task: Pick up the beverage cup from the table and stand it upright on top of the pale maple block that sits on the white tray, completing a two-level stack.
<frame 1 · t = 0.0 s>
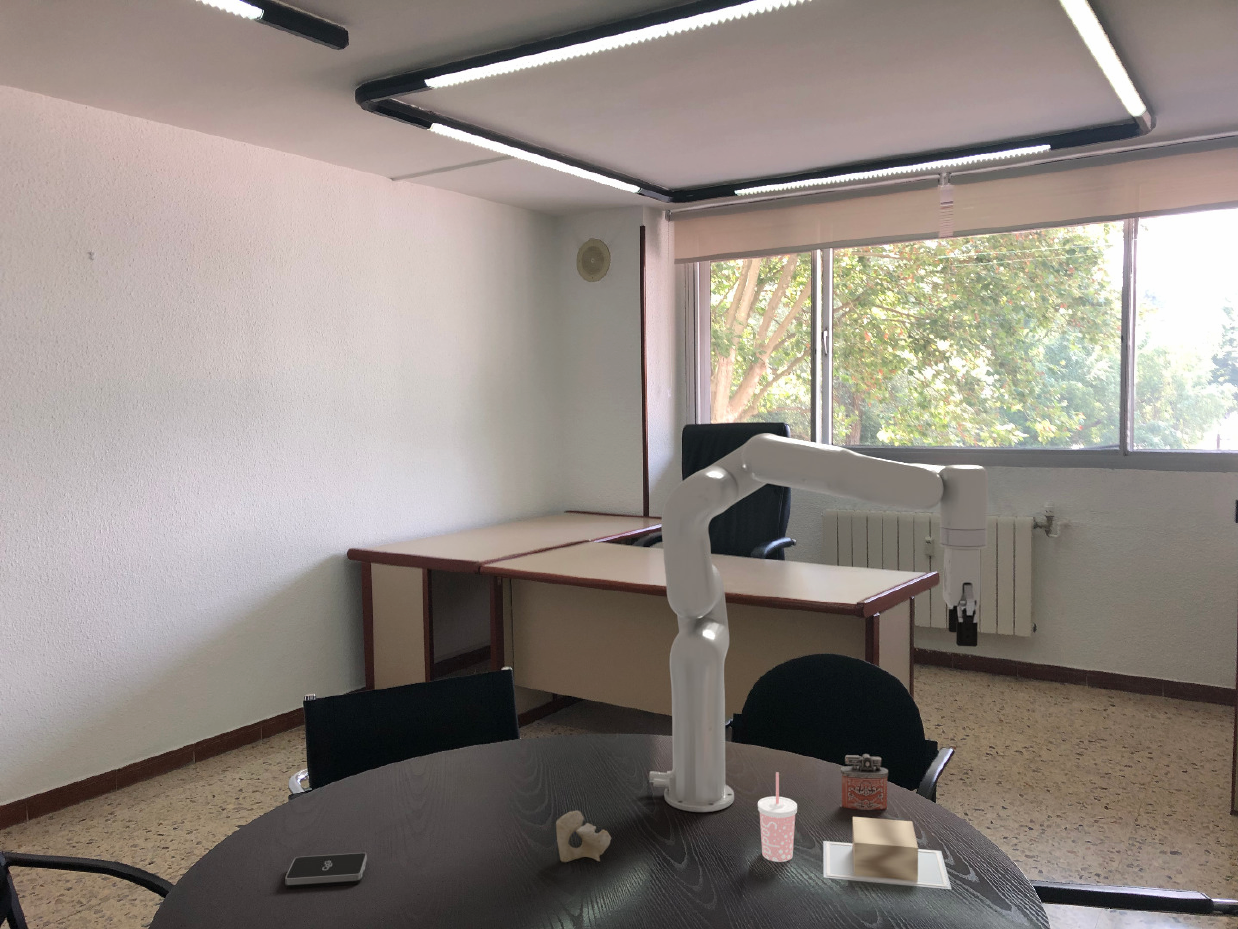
hand: (962, 638, 158), 31 cm above the table, tool pointing down, fingers open, 9 cm apart
white tray: (883, 870, 142), on the table
bone: (584, 857, 148), on the table
maple block: (883, 863, 142), point 1 cm above the table, touching white tray
beverage cup: (777, 862, 145), on the table
external hard drive: (326, 879, 142), on the table
lighter: (864, 812, 163), on the table
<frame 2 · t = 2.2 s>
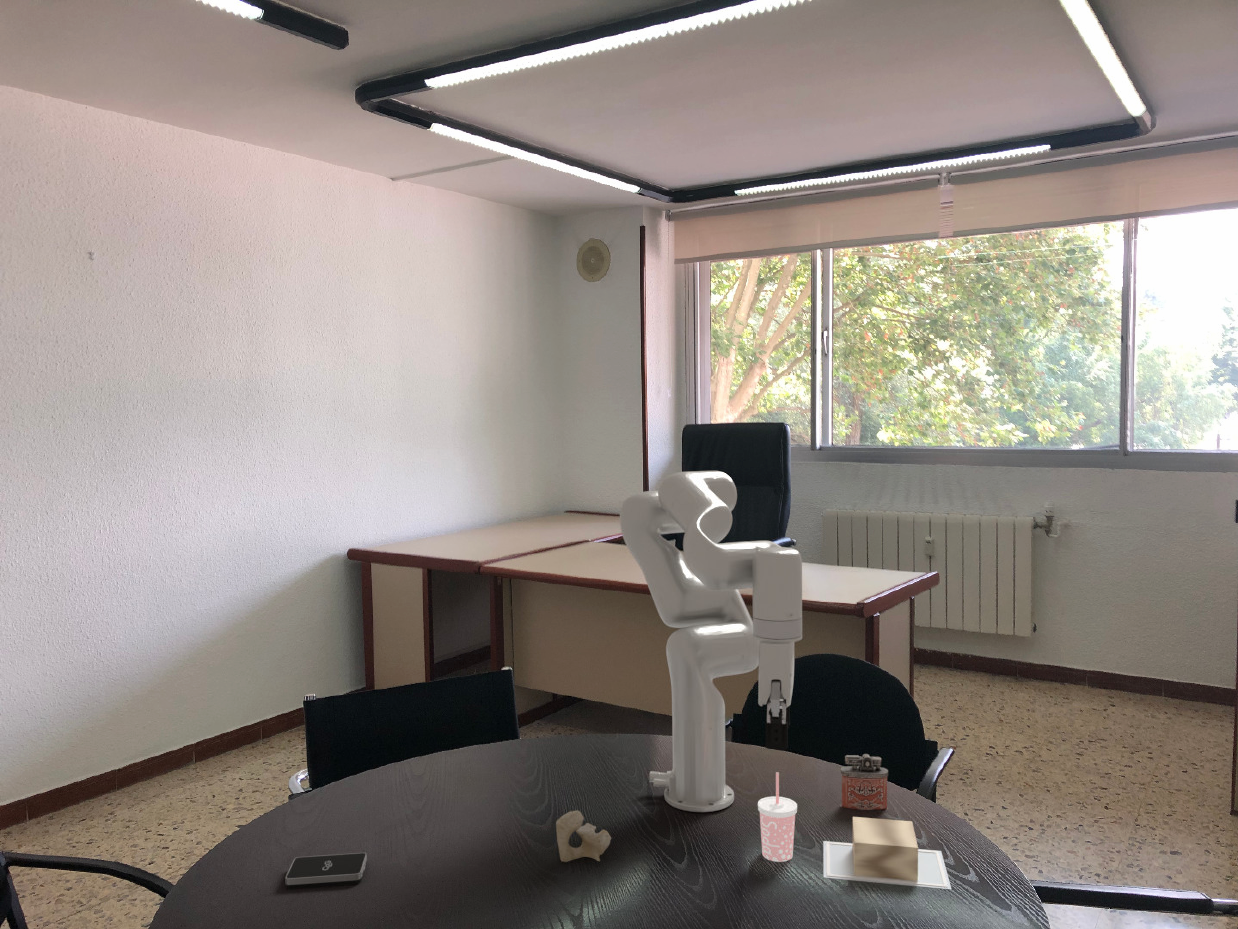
hand: (778, 737, 144), 20 cm above the table, tool pointing down, fingers open, 9 cm apart
nothing on the table moved.
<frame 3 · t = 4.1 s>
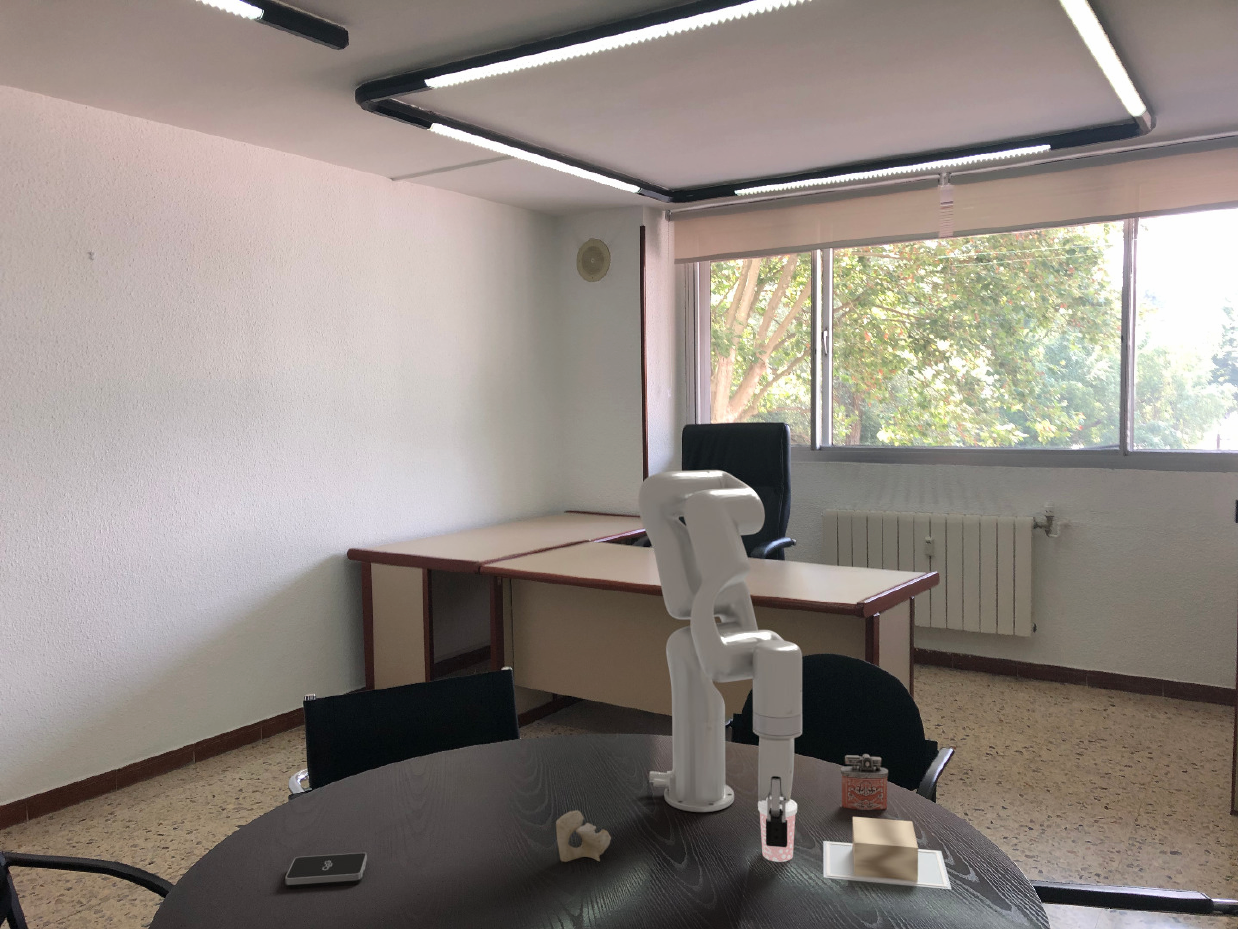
hand: (777, 835, 145), 4 cm above the table, tool pointing down, fingers closed on beverage cup, 6 cm apart
beverage cup: (777, 862, 145), on the table, touching gripper
everything else where it was.
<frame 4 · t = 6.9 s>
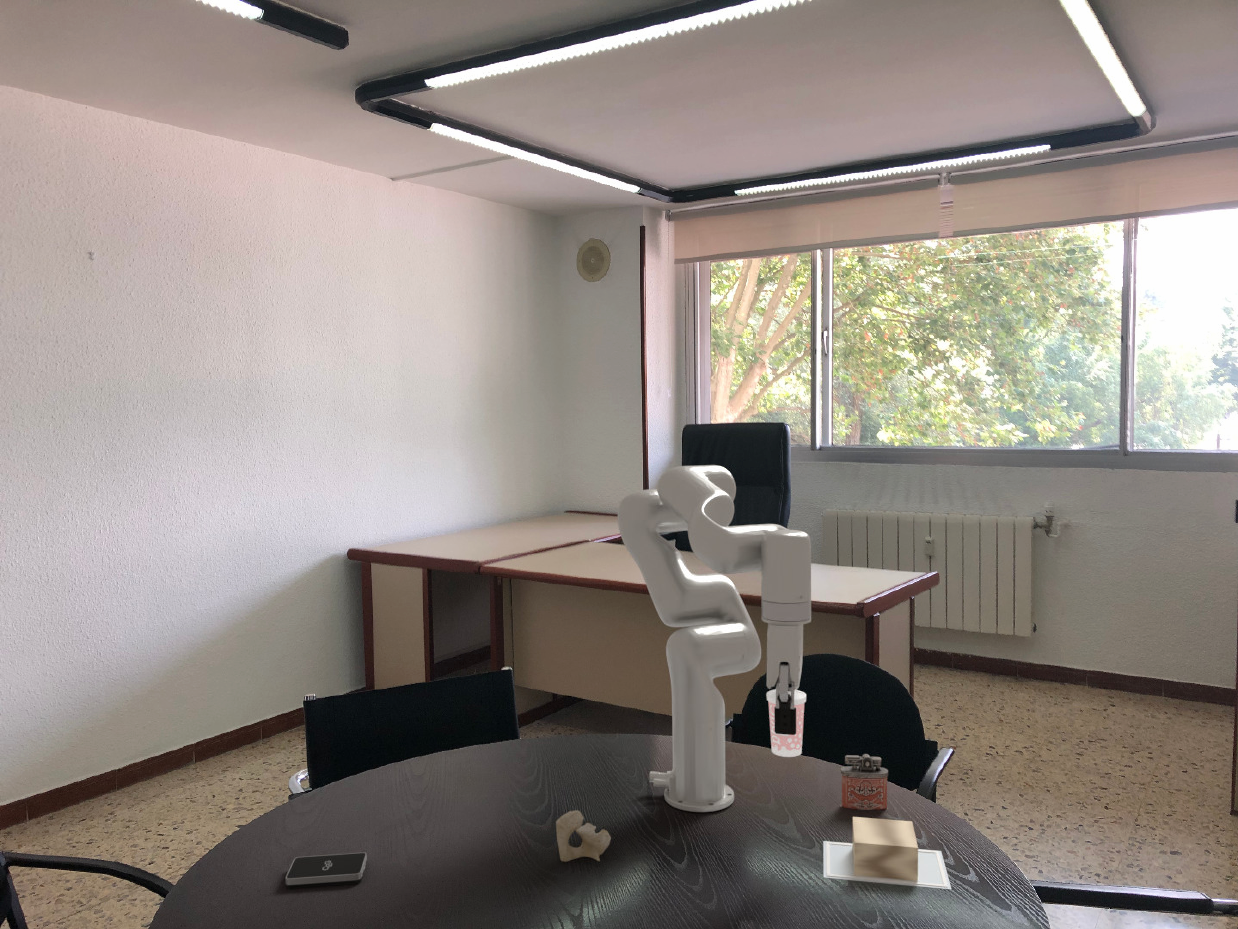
hand: (786, 725, 144), 22 cm above the table, tool pointing down, fingers closed on beverage cup, 6 cm apart
beverage cup: (786, 753, 144), point 17 cm above the table, touching gripper
everything else where it was.
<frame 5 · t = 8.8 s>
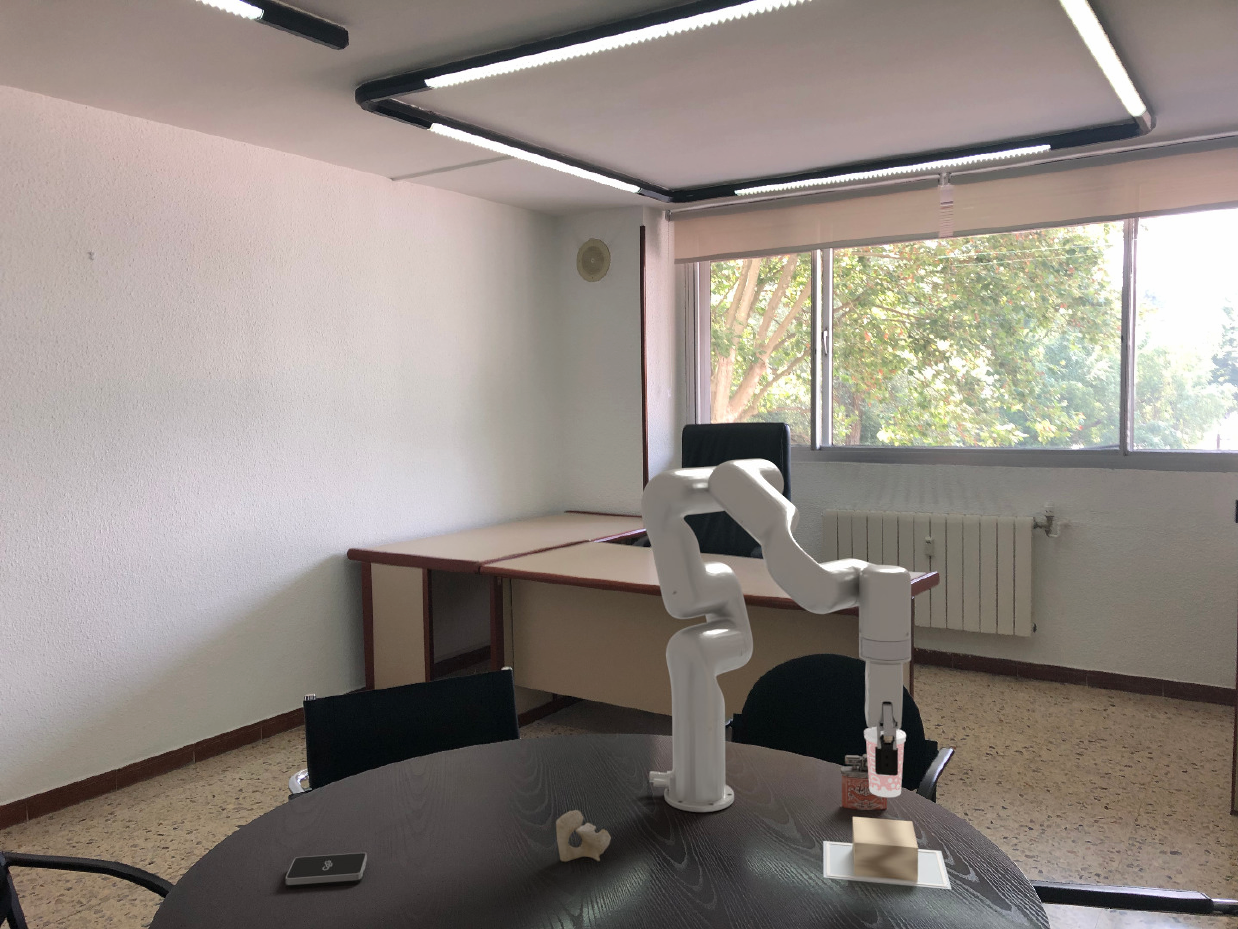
hand: (885, 765, 141), 16 cm above the table, tool pointing down, fingers closed on beverage cup, 6 cm apart
beverage cup: (885, 792, 141), point 12 cm above the table, touching gripper
everything else where it was.
when the fingers open (11 cm above the table, at t = 10.1 s): beverage cup drops 1 cm, resting on maple block.
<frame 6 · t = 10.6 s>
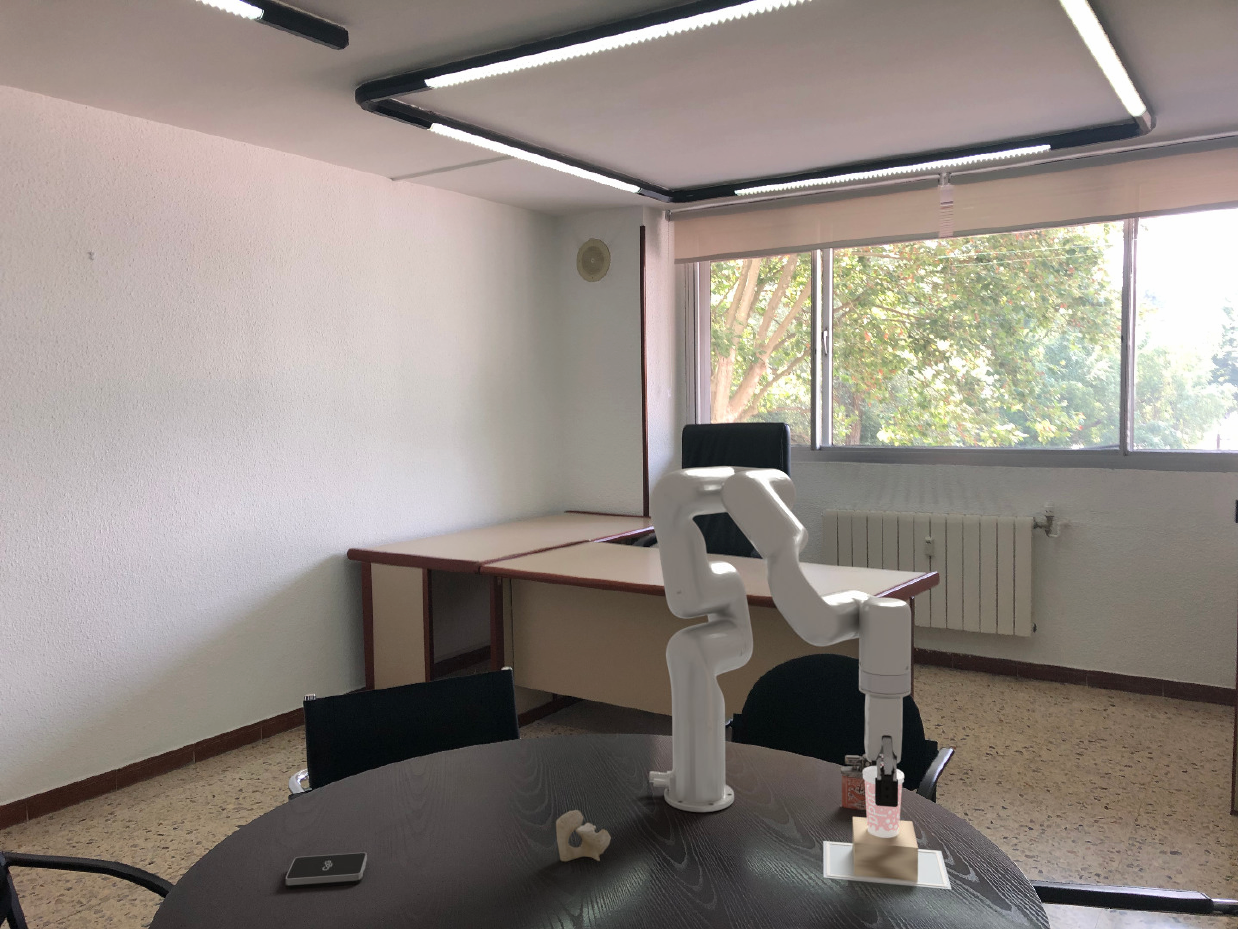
hand: (884, 792, 141), 12 cm above the table, tool pointing down, fingers open, 9 cm apart
maple block: (883, 863, 142), point 1 cm above the table, touching beverage cup, white tray
beverage cup: (882, 832, 142), point 6 cm above the table, touching maple block
everything else where it was.
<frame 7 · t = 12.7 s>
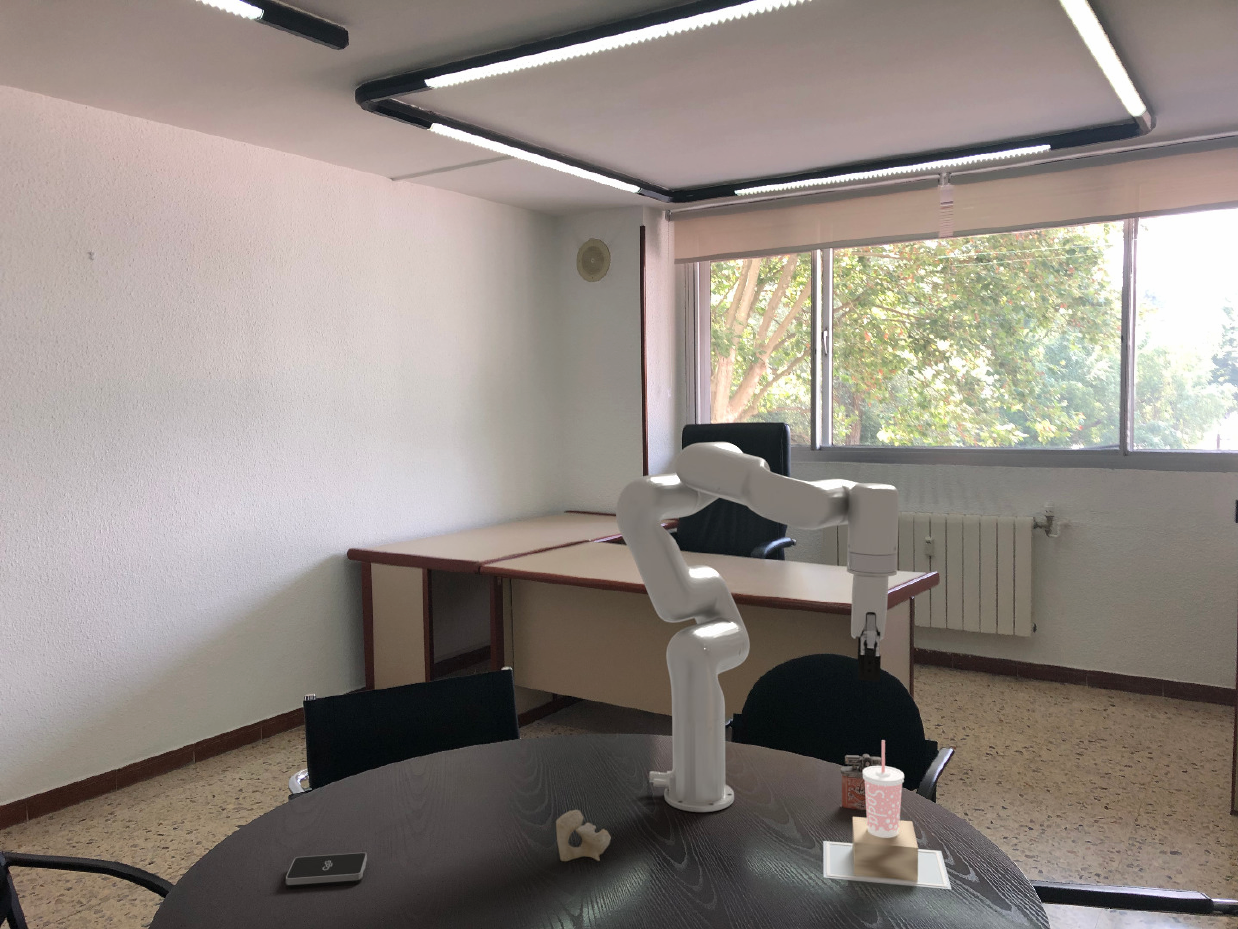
hand: (868, 671, 146), 29 cm above the table, tool pointing down, fingers open, 9 cm apart
nothing on the table moved.
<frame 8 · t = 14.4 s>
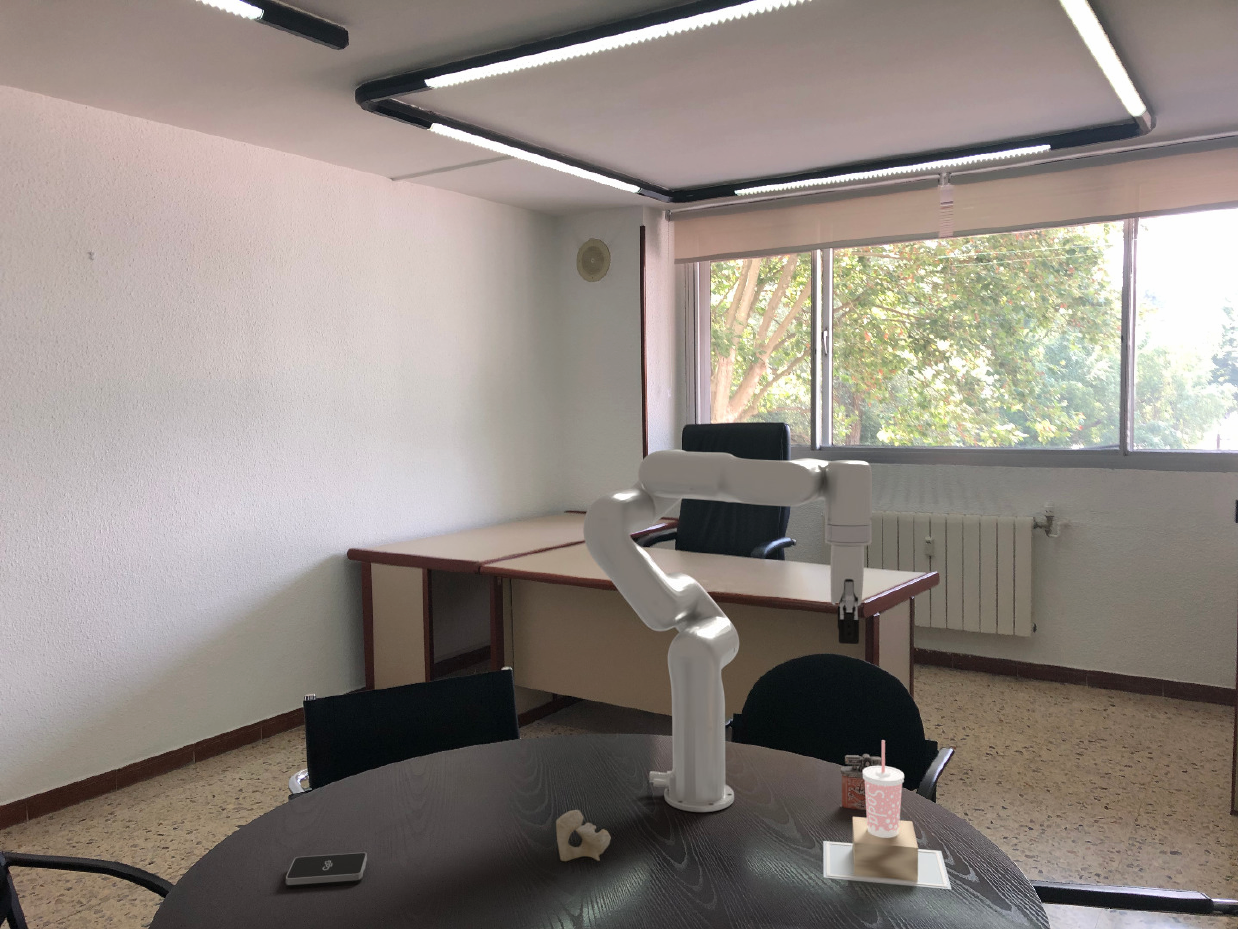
hand: (847, 636, 156), 32 cm above the table, tool pointing down, fingers open, 9 cm apart
nothing on the table moved.
at the end: beverage cup 0.3 cm off-centre on the maple block, point 4.8 cm above the maple block's base; beverage cup tilted 0°; the gripper is holding nothing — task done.
